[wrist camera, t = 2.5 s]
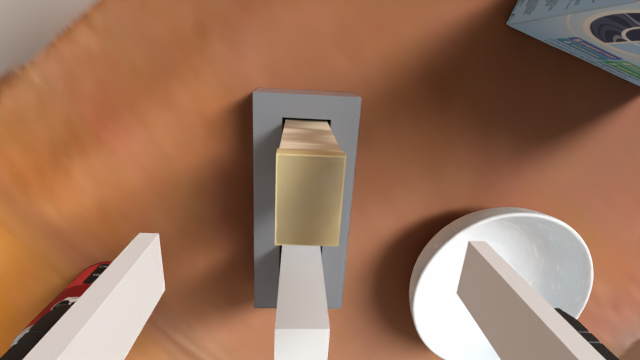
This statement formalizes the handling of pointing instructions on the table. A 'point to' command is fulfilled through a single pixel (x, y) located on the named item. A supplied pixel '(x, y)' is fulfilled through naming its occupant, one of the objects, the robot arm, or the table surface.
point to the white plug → (301, 306)
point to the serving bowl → (518, 251)
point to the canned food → (70, 292)
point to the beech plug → (308, 184)
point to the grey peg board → (267, 135)
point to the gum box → (587, 31)
